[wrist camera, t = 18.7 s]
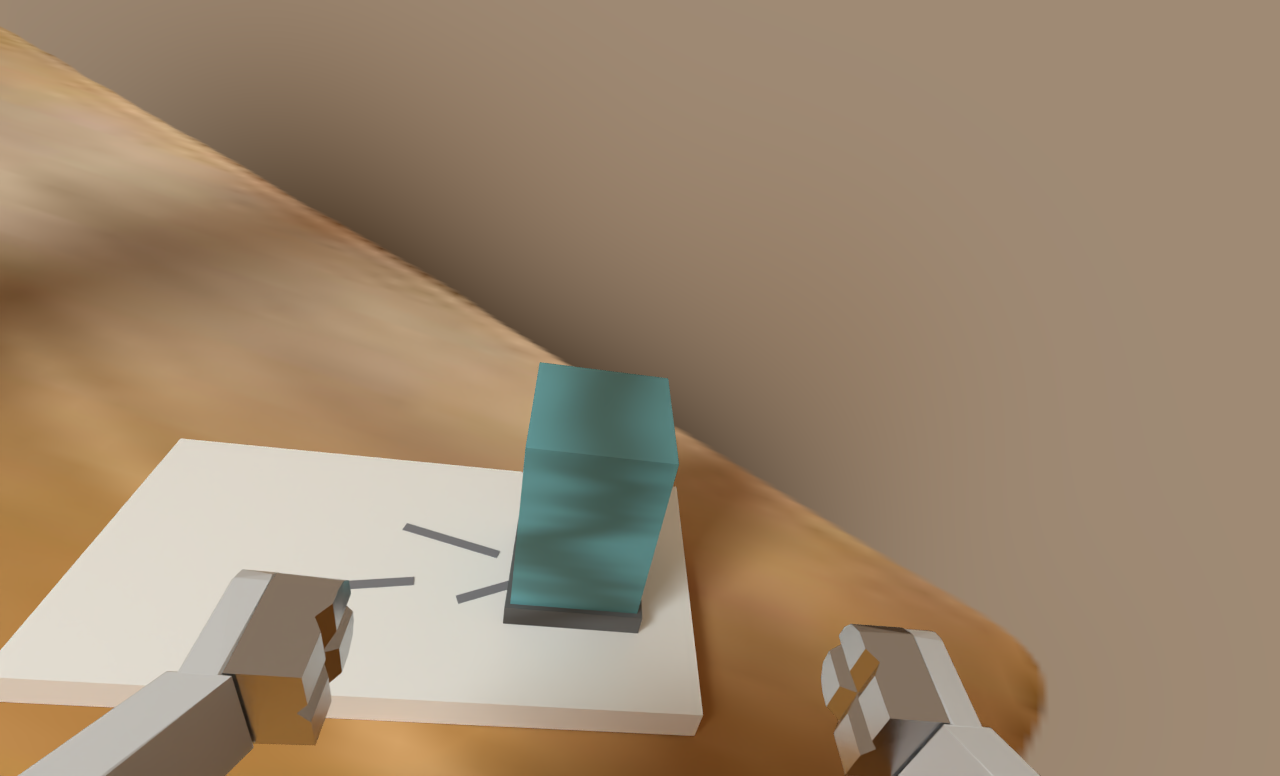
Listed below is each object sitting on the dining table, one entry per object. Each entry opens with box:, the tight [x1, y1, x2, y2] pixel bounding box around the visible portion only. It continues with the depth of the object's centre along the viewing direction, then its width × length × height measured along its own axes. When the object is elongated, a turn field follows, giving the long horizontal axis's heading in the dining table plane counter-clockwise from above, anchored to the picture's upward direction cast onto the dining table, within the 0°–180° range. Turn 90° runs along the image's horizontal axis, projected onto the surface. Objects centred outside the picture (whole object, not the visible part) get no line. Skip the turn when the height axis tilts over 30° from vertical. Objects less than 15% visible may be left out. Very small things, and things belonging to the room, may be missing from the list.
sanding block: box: [503, 362, 679, 633], centre depth 26 cm, size 5×5×9 cm
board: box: [0, 439, 703, 736], centre depth 28 cm, size 24×12×2 cm, turn 92°
